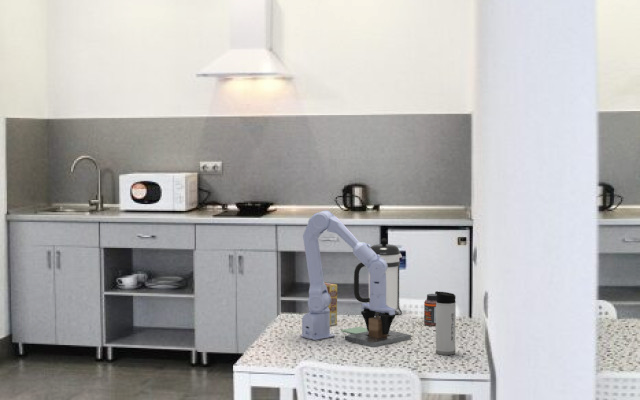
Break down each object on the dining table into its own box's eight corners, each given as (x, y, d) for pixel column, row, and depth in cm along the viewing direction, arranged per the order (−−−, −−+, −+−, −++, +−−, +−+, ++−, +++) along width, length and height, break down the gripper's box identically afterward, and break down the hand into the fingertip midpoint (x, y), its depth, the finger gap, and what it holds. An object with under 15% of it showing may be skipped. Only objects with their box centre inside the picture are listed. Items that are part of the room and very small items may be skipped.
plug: (377, 341, 310) (377, 320, 309) (368, 339, 313) (368, 318, 312) (387, 339, 312) (387, 318, 312) (378, 337, 316) (378, 316, 315)
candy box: (338, 324, 337) (338, 284, 336) (329, 326, 335) (329, 285, 334) (322, 321, 344) (322, 281, 343) (314, 322, 342) (313, 282, 341)
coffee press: (372, 308, 370) (373, 235, 368) (408, 312, 362) (409, 237, 360) (353, 315, 355) (353, 239, 353) (390, 319, 347) (390, 241, 345)
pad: (358, 335, 320) (358, 334, 320) (341, 331, 326) (341, 330, 326) (376, 331, 325) (376, 330, 325) (359, 327, 332) (359, 326, 332)
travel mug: (433, 350, 297) (434, 290, 295) (454, 350, 296) (454, 290, 295) (435, 355, 290) (436, 293, 289) (456, 355, 290) (456, 293, 289)
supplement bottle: (420, 324, 338) (420, 294, 337) (430, 322, 342) (430, 292, 341) (433, 326, 334) (433, 296, 333) (443, 324, 338) (443, 294, 337)
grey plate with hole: (373, 347, 302) (373, 342, 301) (344, 340, 312) (344, 335, 312) (410, 339, 313) (410, 334, 313) (382, 332, 324) (382, 328, 324)
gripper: (401, 295, 309) (401, 334, 310) (371, 289, 320) (371, 327, 321) (386, 297, 304) (386, 337, 305) (357, 291, 315) (357, 330, 316)
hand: (377, 332), depth 313 cm, fingers open, 7 cm apart
